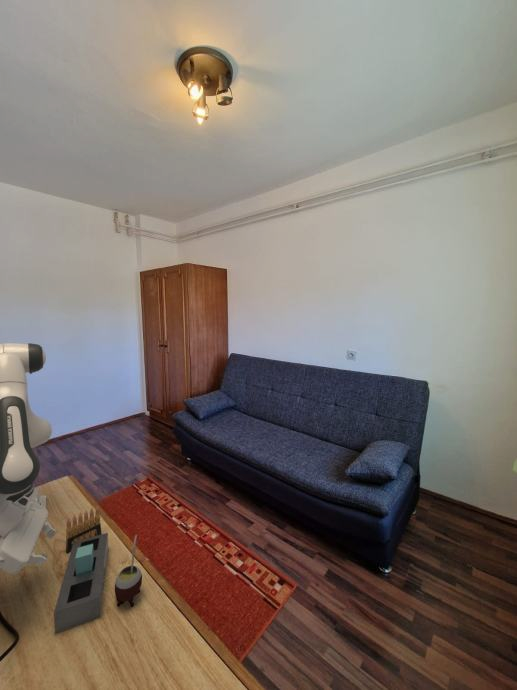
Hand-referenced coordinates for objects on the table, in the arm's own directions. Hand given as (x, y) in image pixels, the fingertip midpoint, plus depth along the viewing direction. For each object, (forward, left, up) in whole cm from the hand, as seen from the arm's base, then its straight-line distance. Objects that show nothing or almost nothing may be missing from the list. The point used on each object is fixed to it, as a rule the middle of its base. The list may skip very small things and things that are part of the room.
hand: (49, 546), depth 78 cm
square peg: (0, +8, -14) cm, 16 cm away
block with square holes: (0, +8, -15) cm, 17 cm away
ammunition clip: (-18, +5, -15) cm, 24 cm away
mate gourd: (+9, +20, -15) cm, 27 cm away
